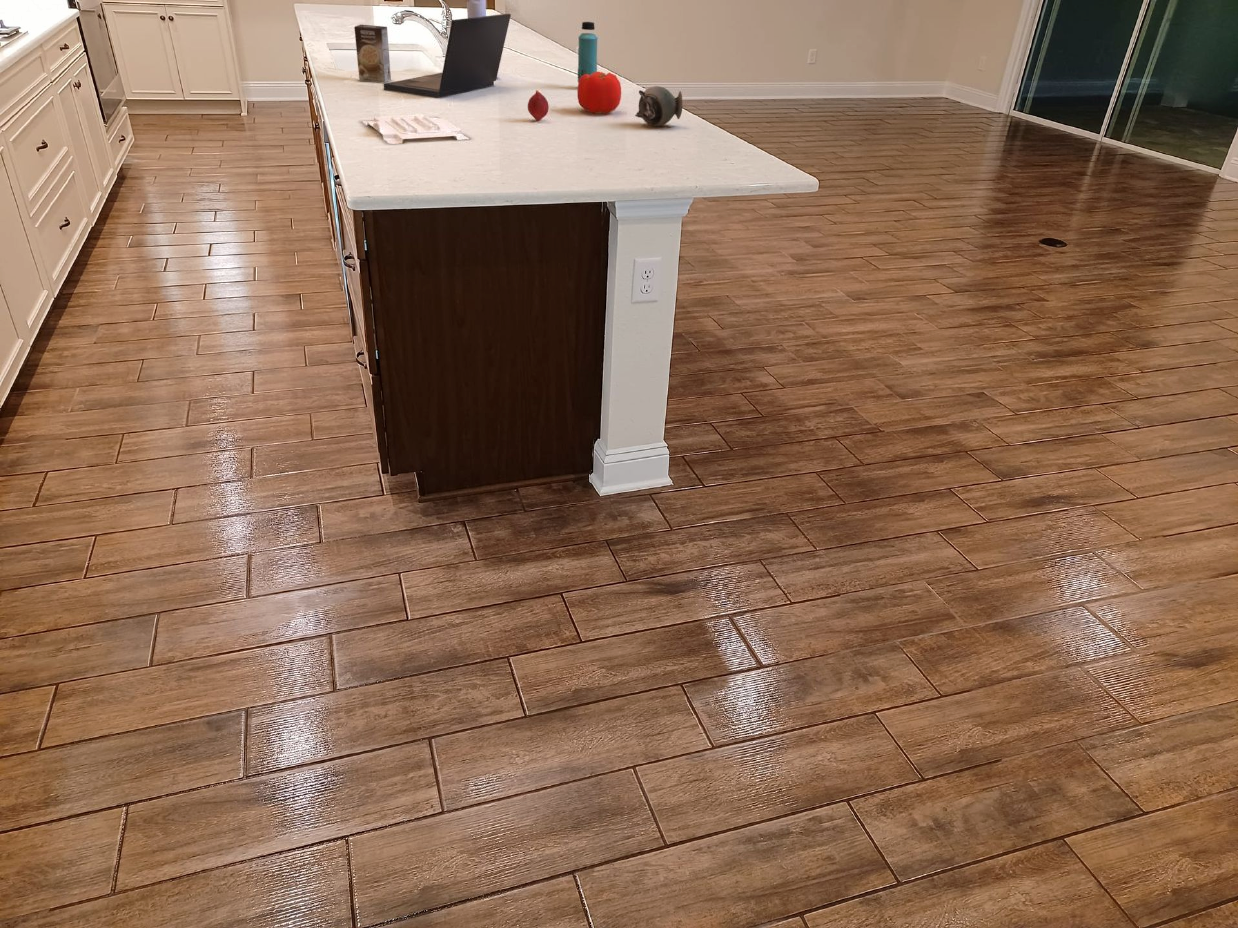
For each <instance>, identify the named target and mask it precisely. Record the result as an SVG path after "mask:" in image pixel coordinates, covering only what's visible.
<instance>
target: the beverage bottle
mask: <svg viewBox="0 0 1238 928" xmlns="http://www.w3.org/2000/svg"><path fill="white" fill-rule="evenodd" d="M595 29H596V28H595V22H593V21H582V22H581V30H585V31H594V30H595ZM577 38H578V48H577V57H578V59H577V83H579V80H580V78H581V76H582V75H584V74H588V75H589V76H590V74H592V73H595V72H598V37H597V35H596V34H595V33H591V32H583V33H581V34H579V35H578V37H577Z"/></svg>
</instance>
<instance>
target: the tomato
mask: <svg viewBox="0 0 1238 928" xmlns="http://www.w3.org/2000/svg"><path fill="white" fill-rule="evenodd" d="M577 83H578V82H577ZM576 92H577V101H578V104H579V106H580V107H581V108H582V109H584V110H585V111H587V112H588V113H591V114H599V113H601V114H610V113H612V112H613V111H615V110H616V109H617V108H618V107H619V106H620V103H621V100H622V86H621V82H620V80H619V79H618V77H617V75H616V74H613V73H611V72H608V73H604V72H602V71H597V72H595V73H592V74H590V76H589V75H588V74H584V75H582V76H581V78H580V80H579V83H578V84H577V91H576Z"/></svg>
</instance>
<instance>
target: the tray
mask: <svg viewBox="0 0 1238 928" xmlns="http://www.w3.org/2000/svg"><path fill="white" fill-rule="evenodd" d="M361 122H362V123H363V124H364V125H366V126H369V127H370V126H371V127H373V129H375V130H376V131H377V132H378V133H380V134H381V135H382V139H383V140H384V141H385V142H386V143H388V144H389V145H393V144H395V145H396V144H398V145H399V144H403V143H404V140H409V139H427V138H443V137H444V138H445V137H453V138H455V139H456V140H457V141H461V140H469V139H470V138H469V137H467V136H466V135H465V134H463V133H462V129H461V128H459V127H458V126H456V125H454V124H453V123H451V122H450V121H448V120H447V119H445V118H443V117H439V118H438V117H435V116H434V117H428V116H427V115H426V114H422V113H421V114H402V115H401V114H400V115H381V116H373V120H363V121H361Z"/></svg>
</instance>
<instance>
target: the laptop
mask: <svg viewBox="0 0 1238 928" xmlns="http://www.w3.org/2000/svg"><path fill="white" fill-rule="evenodd" d="M441 77H442V72H437V73H432V74H428V75H427V74H426V75H422V76H417V77H411V78H407V79H400V80H396V81H389V82H386V83H383V90H384V91H390V92H396V93H403V94H408V95H409V94H410V95H416V96H422V97H423V96H424V97H429V98H437V99H441V98H445V97H450V96H453V95H458V94H463V93H467V92H473V91H476V90H481V89H485V88H489V87H494V86H495V81H493V82H488V83H484V84H479V85H475V86H470V87H466V88H461V89H456V90H452V91H447V92H443V93H440V92H439V88H440V83H441Z"/></svg>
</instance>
